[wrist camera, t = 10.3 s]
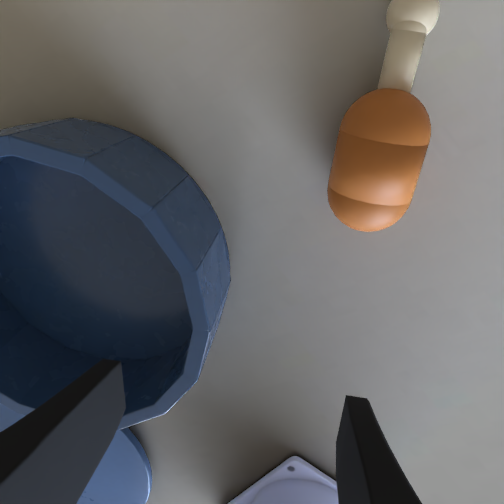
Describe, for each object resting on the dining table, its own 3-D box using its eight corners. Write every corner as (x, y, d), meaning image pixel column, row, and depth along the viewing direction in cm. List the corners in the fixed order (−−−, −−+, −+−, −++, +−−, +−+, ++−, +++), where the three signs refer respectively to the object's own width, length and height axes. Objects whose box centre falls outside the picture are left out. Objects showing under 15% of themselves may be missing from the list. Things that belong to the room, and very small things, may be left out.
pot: (145, 400, 28) (110, 470, 24) (-59, 269, 26) (-144, 316, 21) (287, 245, 22) (278, 299, 17) (29, 48, 19) (-66, 47, 15)
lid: (98, 540, 37) (69, 603, 33) (-69, 445, 35) (-124, 500, 30) (195, 454, 30) (175, 521, 26) (-6, 326, 27) (-66, 377, 23)
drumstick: (396, 221, 20) (403, 252, 17) (323, 207, 21) (316, 234, 17) (464, -6, 16) (491, -23, 13) (370, -16, 16) (372, -34, 13)
